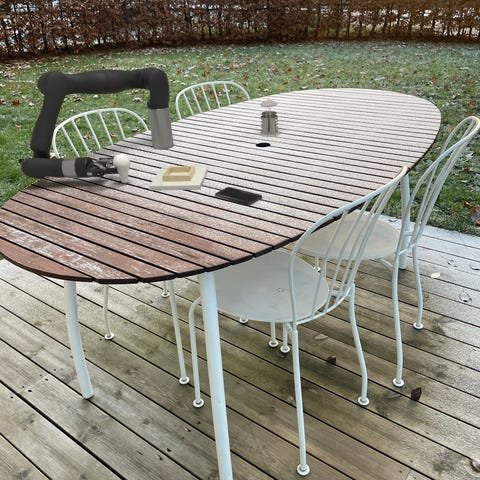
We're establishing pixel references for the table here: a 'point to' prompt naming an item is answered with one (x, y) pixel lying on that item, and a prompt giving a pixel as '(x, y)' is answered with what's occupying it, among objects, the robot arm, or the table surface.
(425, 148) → the table surface
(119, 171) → the lightbulb
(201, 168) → the lamp base
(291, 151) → the table surface
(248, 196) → the phone
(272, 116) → the french press
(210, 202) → the table surface
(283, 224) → the table surface
